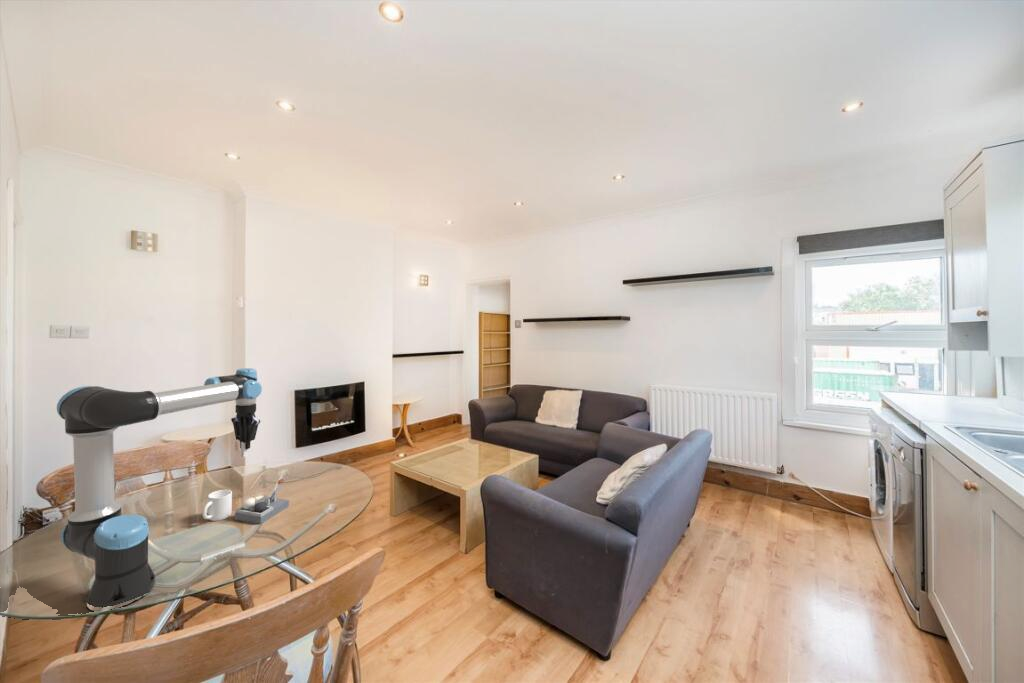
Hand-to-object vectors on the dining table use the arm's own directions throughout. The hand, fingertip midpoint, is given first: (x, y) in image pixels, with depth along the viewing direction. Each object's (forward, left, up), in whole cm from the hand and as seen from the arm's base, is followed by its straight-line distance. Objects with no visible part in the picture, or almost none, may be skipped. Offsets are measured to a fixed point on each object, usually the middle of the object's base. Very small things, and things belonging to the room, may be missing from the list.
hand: (245, 455), depth 168 cm
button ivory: (-2, -4, -22) cm, 22 cm away
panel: (+3, -8, -26) cm, 28 cm away
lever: (+6, -8, -22) cm, 25 cm away
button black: (-2, -10, -23) cm, 25 cm away
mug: (-7, +7, -27) cm, 28 cm away
